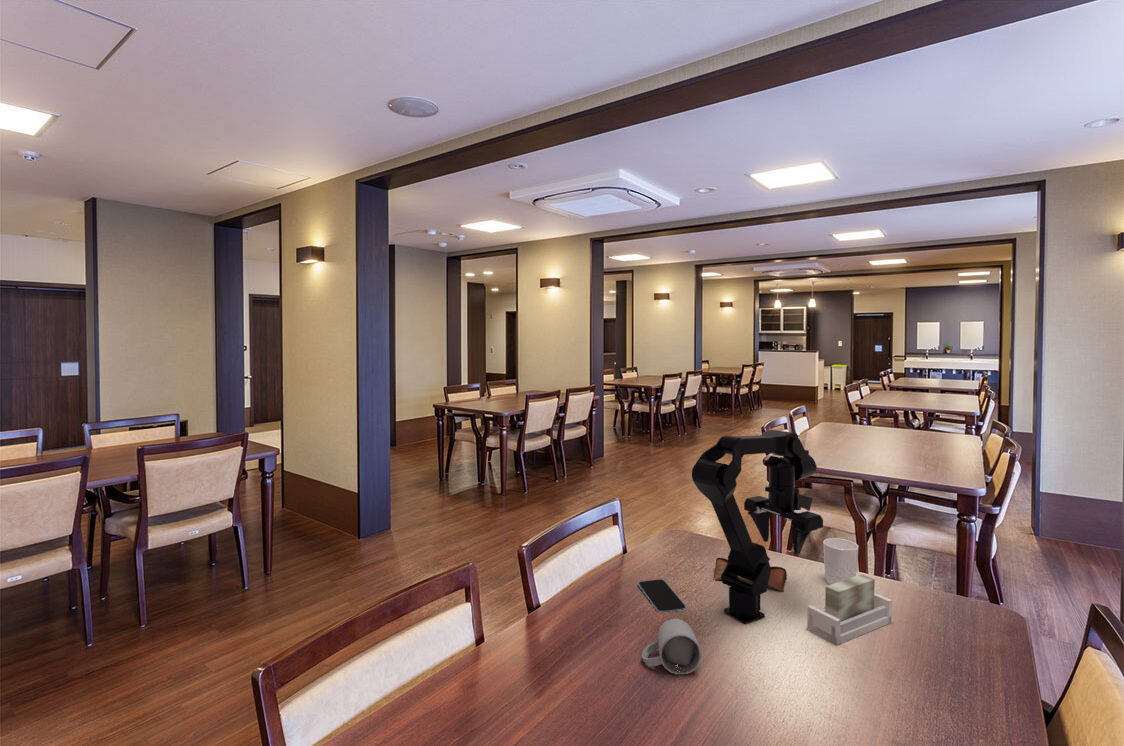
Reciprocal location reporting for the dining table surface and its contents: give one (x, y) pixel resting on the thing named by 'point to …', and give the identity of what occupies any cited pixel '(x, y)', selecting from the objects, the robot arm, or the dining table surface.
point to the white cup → (839, 559)
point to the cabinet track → (849, 621)
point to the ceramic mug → (674, 648)
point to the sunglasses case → (775, 581)
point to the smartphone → (661, 595)
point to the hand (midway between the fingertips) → (781, 547)
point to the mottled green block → (850, 597)
